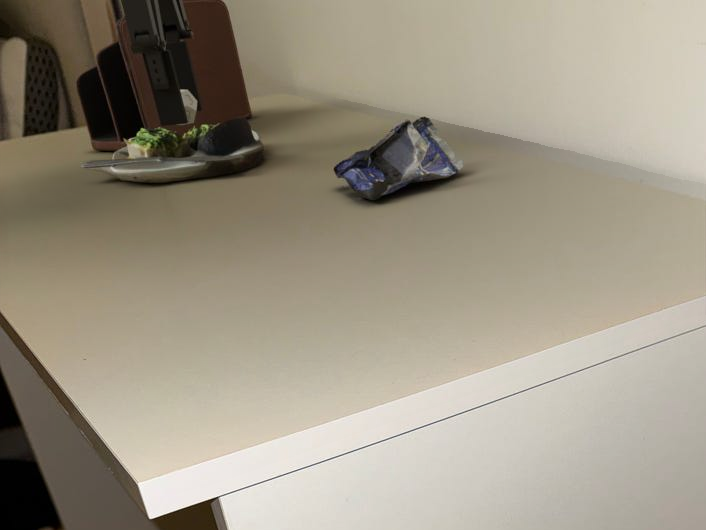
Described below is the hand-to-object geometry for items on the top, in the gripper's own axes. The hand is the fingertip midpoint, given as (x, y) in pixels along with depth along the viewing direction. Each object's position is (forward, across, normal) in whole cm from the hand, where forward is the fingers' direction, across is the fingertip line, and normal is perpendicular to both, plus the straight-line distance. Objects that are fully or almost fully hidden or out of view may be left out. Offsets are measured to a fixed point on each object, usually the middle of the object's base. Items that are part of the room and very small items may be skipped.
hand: (182, 117), depth 100 cm
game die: (+1, 0, 0) cm, 1 cm away
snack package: (+5, -18, -24) cm, 30 cm away
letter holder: (+5, +20, +7) cm, 22 cm away
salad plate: (+5, 0, 0) cm, 5 cm away
